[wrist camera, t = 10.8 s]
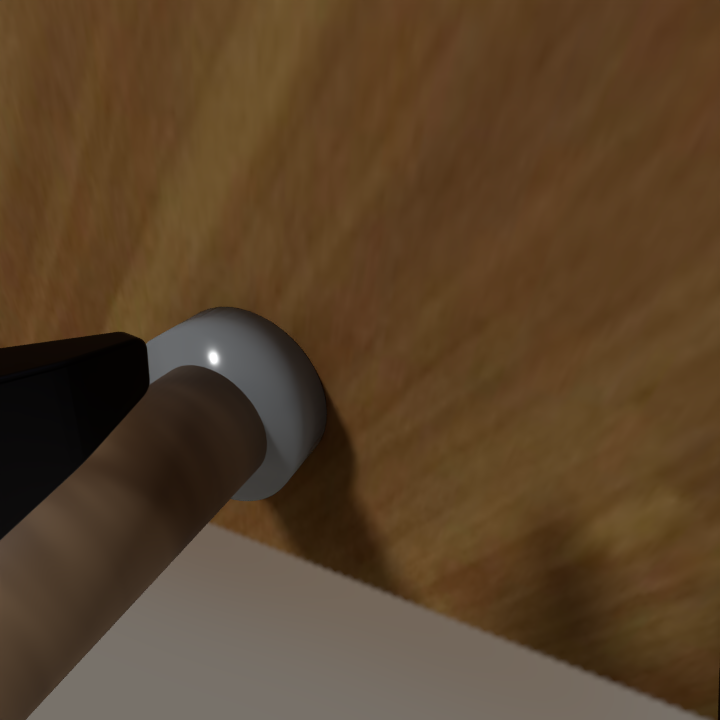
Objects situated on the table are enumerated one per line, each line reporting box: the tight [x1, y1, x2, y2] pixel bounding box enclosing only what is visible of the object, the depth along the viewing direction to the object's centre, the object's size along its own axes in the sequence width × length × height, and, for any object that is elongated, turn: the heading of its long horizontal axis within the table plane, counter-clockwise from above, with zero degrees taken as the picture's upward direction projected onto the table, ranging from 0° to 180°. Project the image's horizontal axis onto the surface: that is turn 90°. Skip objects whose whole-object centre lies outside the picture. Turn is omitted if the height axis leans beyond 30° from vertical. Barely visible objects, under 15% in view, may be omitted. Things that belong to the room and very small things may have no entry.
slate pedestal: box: [146, 307, 327, 501], centre depth 26 cm, size 9×9×3 cm
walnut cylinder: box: [0, 365, 267, 720], centre depth 19 cm, size 6×6×12 cm
